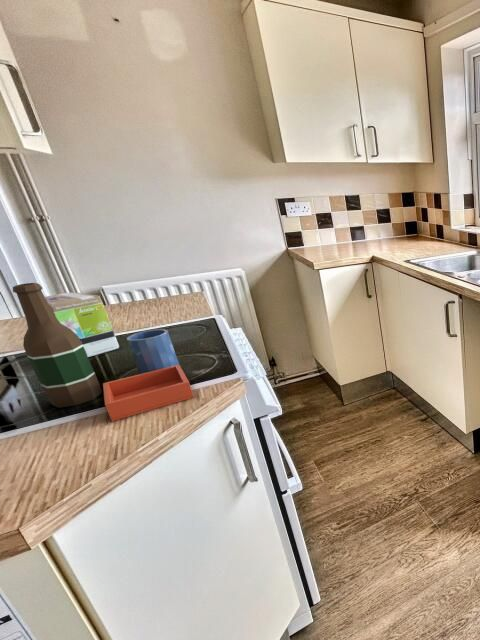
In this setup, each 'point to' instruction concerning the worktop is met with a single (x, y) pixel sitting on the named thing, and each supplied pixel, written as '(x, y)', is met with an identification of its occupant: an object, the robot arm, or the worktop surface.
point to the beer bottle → (55, 352)
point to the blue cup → (152, 350)
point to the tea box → (85, 320)
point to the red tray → (146, 392)
